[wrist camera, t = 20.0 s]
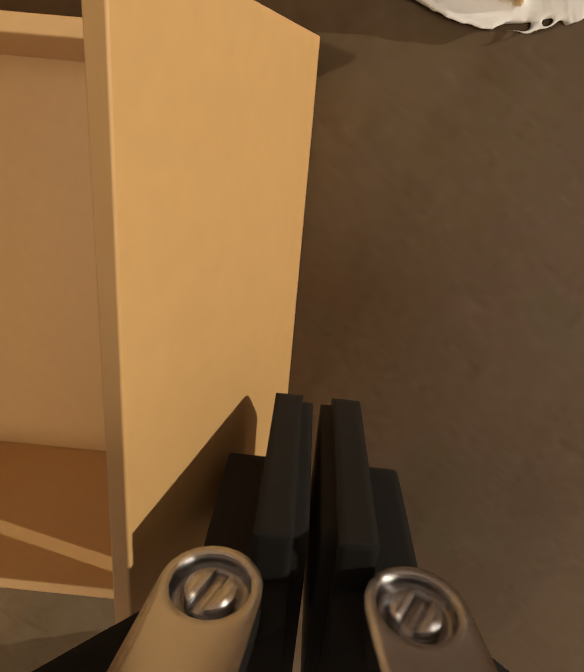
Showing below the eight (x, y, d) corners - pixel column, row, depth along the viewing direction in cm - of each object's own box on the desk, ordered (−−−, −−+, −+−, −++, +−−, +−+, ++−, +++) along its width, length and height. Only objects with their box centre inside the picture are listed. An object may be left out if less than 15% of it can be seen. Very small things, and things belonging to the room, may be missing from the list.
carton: (-69, 35, 18) (-313, -18, 11) (317, 69, 18) (315, 37, 11) (-9, 442, 24) (-143, 573, 17) (280, 470, 24) (264, 615, 17)
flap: (75, -85, 5) (103, -85, 5) (305, 35, 10) (320, 36, 10) (128, 885, 11) (141, 893, 10) (256, 629, 16) (266, 633, 16)
